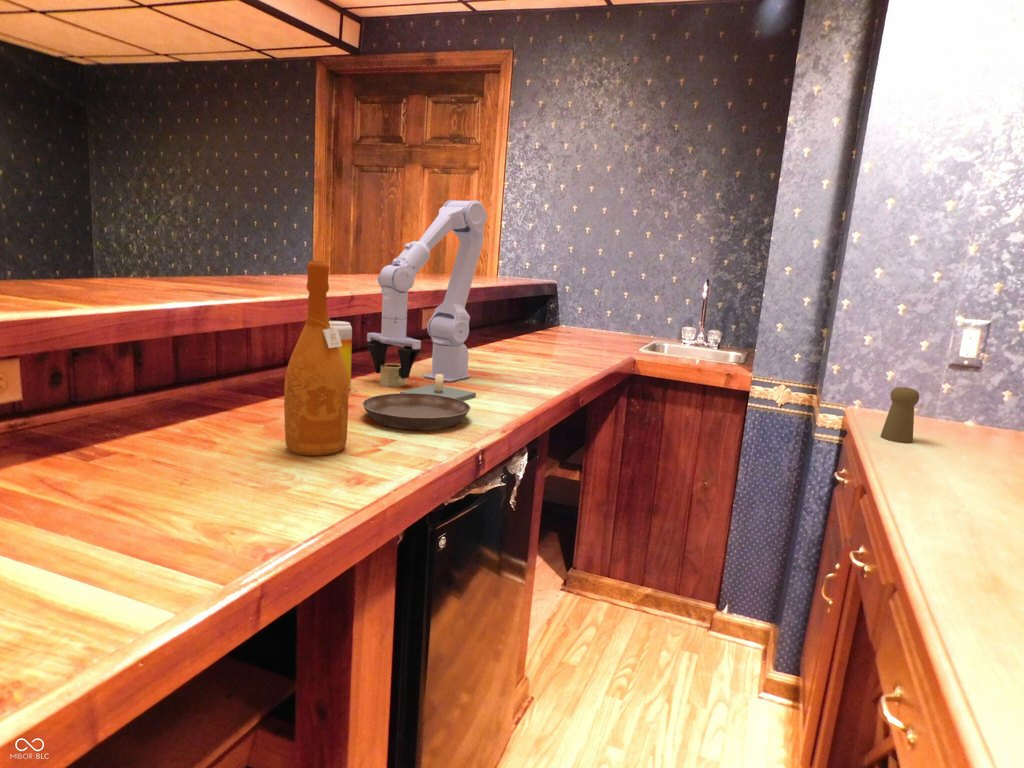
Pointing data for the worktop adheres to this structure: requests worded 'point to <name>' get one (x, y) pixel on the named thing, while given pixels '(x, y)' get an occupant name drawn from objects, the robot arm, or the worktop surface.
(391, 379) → the collar
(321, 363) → the wine bottle
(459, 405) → the plant saucer
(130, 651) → the worktop surface
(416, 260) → the robot arm
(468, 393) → the post plate
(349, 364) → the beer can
